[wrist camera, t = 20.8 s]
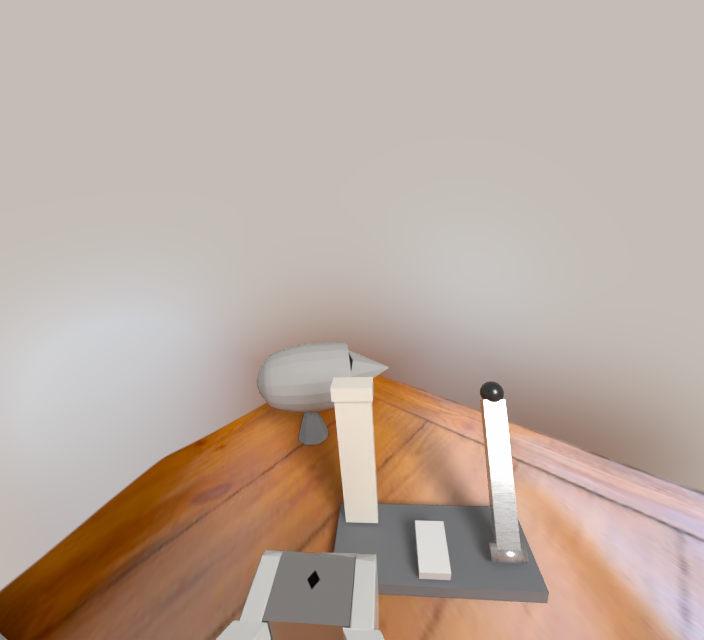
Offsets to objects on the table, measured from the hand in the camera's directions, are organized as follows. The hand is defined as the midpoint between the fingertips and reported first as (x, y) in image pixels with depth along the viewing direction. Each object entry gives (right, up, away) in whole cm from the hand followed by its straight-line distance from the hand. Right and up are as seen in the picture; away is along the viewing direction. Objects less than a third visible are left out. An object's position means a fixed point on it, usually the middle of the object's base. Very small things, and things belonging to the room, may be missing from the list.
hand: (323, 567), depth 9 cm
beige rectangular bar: (+2, -18, +34) cm, 38 cm away
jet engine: (-4, -14, +52) cm, 54 cm away
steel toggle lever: (+17, -18, +27) cm, 37 cm away
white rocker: (+10, -19, +28) cm, 35 cm away
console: (+10, -21, +31) cm, 38 cm away
